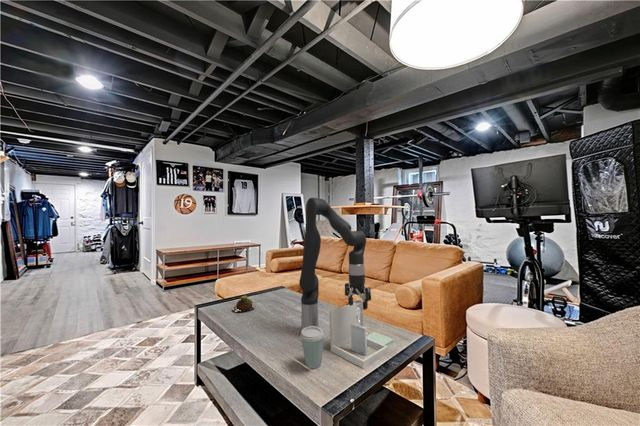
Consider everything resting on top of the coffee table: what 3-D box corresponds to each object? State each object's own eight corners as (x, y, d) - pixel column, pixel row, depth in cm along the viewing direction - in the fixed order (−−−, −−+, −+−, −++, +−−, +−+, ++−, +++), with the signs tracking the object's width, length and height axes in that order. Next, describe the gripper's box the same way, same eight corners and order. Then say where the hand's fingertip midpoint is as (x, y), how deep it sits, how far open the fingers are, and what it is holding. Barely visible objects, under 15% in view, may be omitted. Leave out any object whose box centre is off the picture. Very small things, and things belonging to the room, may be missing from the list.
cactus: (249, 303, 199) (248, 291, 199) (260, 308, 188) (260, 295, 188) (227, 310, 187) (227, 296, 187) (238, 315, 176) (237, 301, 176)
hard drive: (365, 355, 121) (364, 328, 121) (351, 350, 126) (350, 324, 126) (367, 354, 122) (366, 327, 122) (353, 348, 127) (352, 323, 128)
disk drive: (349, 331, 147) (348, 304, 147) (346, 329, 149) (345, 303, 149) (363, 326, 152) (362, 300, 153) (360, 324, 155) (359, 299, 155)
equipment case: (363, 368, 111) (362, 323, 111) (330, 351, 126) (329, 311, 126) (389, 352, 123) (388, 311, 123) (356, 338, 138) (355, 302, 138)
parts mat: (382, 349, 126) (382, 346, 126) (362, 340, 135) (362, 337, 135) (394, 342, 133) (393, 339, 133) (374, 334, 142) (374, 331, 142)
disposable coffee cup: (330, 366, 113) (329, 331, 113) (309, 375, 107) (308, 338, 107) (316, 355, 122) (315, 323, 122) (296, 363, 116) (295, 329, 116)
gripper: (373, 273, 122) (375, 308, 122) (350, 269, 132) (351, 302, 132) (363, 276, 117) (364, 313, 117) (340, 272, 127) (341, 305, 127)
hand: (357, 307), depth 124 cm, fingers open, 8 cm apart
